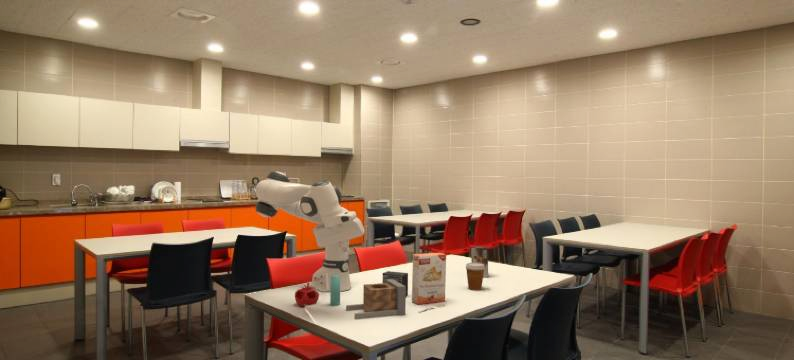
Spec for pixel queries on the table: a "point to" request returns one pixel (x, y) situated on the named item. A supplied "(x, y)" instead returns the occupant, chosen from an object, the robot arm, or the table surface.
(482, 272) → the disposable coffee cup
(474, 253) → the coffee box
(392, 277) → the small box
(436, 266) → the cracker box
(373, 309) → the socket block
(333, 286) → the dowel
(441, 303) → the fork
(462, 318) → the table surface
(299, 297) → the pomegranate
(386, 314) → the backstop
